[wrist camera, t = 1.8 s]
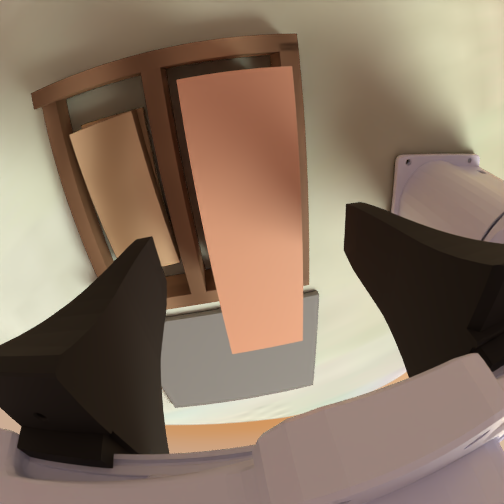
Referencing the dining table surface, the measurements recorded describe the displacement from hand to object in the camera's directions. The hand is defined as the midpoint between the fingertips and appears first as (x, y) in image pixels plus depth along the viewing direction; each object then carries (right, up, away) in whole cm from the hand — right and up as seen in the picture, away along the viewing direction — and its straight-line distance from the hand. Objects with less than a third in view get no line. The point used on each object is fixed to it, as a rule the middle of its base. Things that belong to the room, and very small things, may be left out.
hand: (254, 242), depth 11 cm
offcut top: (-8, +3, +7) cm, 11 cm away
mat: (-2, -11, +17) cm, 20 cm away
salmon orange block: (-1, +5, +8) cm, 9 cm away
